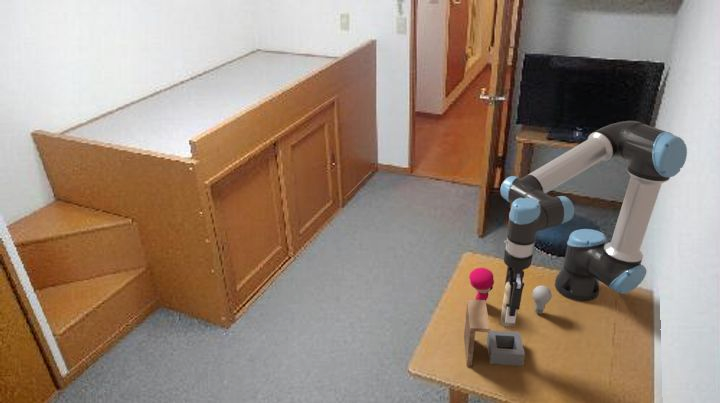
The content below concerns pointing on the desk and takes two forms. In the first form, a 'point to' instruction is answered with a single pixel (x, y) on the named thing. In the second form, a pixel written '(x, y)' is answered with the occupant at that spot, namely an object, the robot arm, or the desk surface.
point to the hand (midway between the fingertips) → (508, 316)
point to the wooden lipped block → (474, 325)
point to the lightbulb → (541, 298)
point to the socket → (505, 355)
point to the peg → (504, 308)
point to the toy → (482, 282)
